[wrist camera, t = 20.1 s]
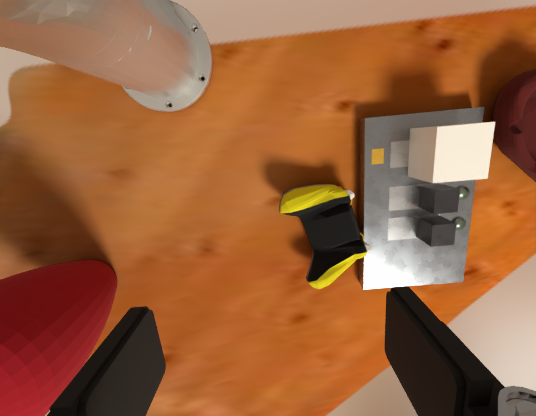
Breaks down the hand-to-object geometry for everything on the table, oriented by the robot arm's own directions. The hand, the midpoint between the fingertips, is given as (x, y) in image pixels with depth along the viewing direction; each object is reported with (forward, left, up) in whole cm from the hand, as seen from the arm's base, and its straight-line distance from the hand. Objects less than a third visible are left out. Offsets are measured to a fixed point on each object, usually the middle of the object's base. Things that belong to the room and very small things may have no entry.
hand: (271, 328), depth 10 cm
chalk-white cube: (-4, +22, -26) cm, 34 cm away
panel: (+4, +21, -28) cm, 35 cm away
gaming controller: (+6, +7, -29) cm, 30 cm away
